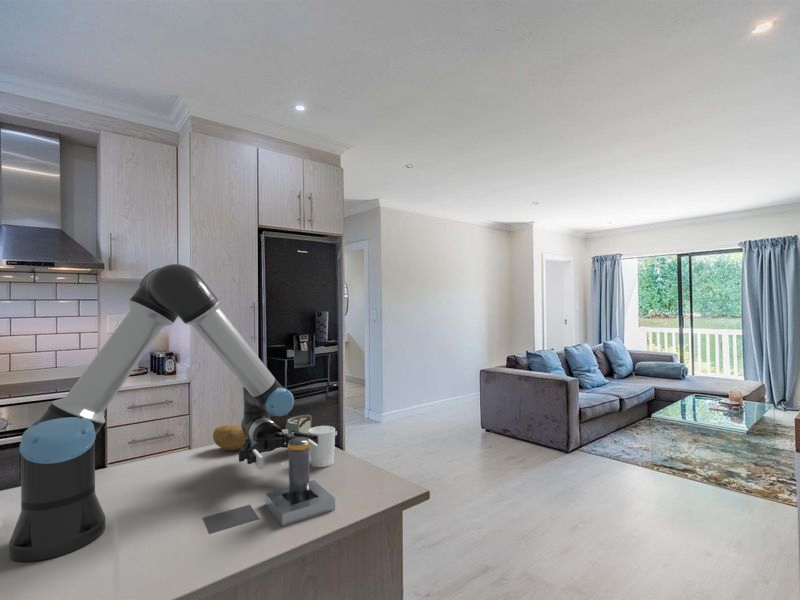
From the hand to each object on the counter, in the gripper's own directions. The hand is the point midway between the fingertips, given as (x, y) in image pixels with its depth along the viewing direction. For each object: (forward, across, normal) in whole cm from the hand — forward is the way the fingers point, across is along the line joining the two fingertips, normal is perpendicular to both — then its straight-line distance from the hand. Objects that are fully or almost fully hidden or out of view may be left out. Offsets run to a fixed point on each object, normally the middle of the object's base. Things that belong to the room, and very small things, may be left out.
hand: (290, 456), depth 99 cm
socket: (+6, 0, -11) cm, 12 cm away
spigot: (+6, 0, -11) cm, 12 cm away
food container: (-34, -13, -11) cm, 39 cm away
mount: (+2, +14, -11) cm, 18 cm away
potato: (-47, +3, -11) cm, 49 cm away
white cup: (-19, -16, -11) cm, 27 cm away
